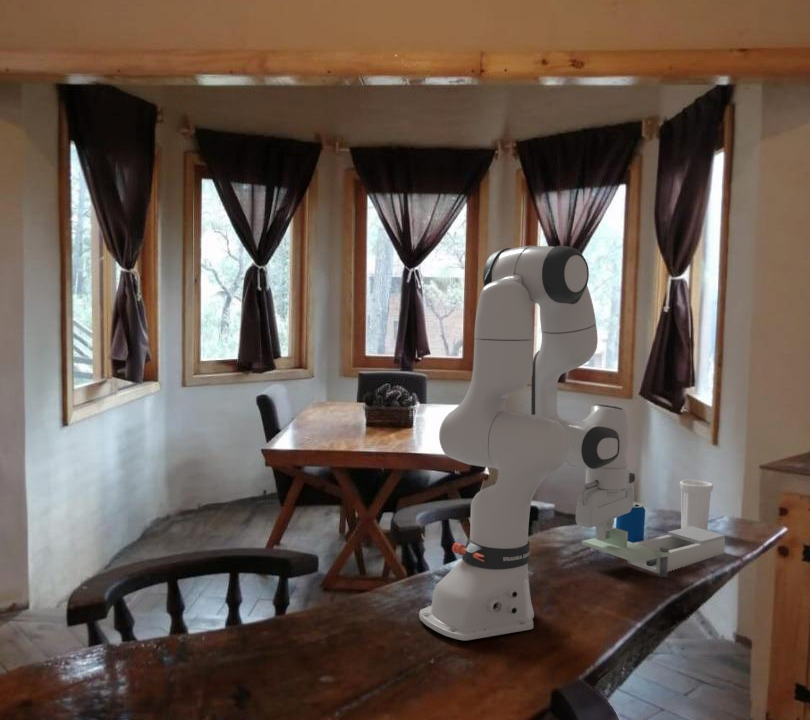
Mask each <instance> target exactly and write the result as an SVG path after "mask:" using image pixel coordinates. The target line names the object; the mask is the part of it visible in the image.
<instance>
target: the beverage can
mask: <svg viewBox="0 0 810 720" xmlns="http://www.w3.org/2000/svg"><path fill="white" fill-rule="evenodd" d="M615 519H616V520H615V528H617V529H621V530H624V531H627V532H628V540H627V541H629V542H632V543H635V542H640V541H644V540H645V539H644V538H645V522H646V508H645V507H644V503H641V502H638V501H635V500H633V507H632V509H631V512H629V513H627V514H624V515H622V516H619V517H617V518H615Z"/></svg>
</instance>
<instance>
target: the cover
mask: <svg viewBox="0 0 810 720" xmlns="http://www.w3.org/2000/svg"><path fill="white" fill-rule="evenodd" d="M627 540H628V532H627V531H624V530H621V529H617V528H616V527H615V526H613V527H612V530H611V537H610V538H609V539H607V540H604V541H601V540H598V539H597V530H596V529H595V535H594V538H588V539H585V540H581V545H582V546H586V547H587V548H588V547H589V548H592V549H595V550H597V551H600V552H603V553H606V554H609V555H612V556H615V557H618V558H621V559H623V560H627V561H628V560H629V561H632V562H634V561H637V560H641V559H645V558H649V557H653V556H659V557H666V556H670V552H669V548H666V547H660V549H657V550H654V549H651V548H648V547H645V546H641V545H638V544H635V543H632V542H629V541H627Z"/></svg>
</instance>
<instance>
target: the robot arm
mask: <svg viewBox="0 0 810 720" xmlns="http://www.w3.org/2000/svg"><path fill="white" fill-rule="evenodd" d="M482 273H483V274H482V282H483V287H482V290H480V293H479V297H478V302H477V307H476V314H475V320H474V341H473V342H474V345H473V346H474V347H473V362H472V363H473V365H472V374H471V375H472V376H471V380H470V384H469V386H468V390H467V391H466V394H465V396H464V397H463V400H462V401H461V402H460V403H459V404H458V406H456V407H455V408H454V409H453V410H452V411H450V412H449V413H447V415H446V416H445V418H444V419H443V420H442V422H441V425H440V428H439V432H438V434H439V437H438V438H439V444H440V447H441V450H442V451H443V453H444V455H445V456H446V457H448V458H450V459H452V460H455V461H457V462H459V463H460V462H461V463H463V464H466V465H470V466H475V467H482V468H491V469H496V470H497V479H496V482H495V484H492V485H490V486H487V487H485V488H482V489H480V491H478V492H477V493H476V494H475V496H473V498H472V500H471V502H470V520H469V521H470V523H469V524H470V527H469V528H470V529H469V531H470V533H469V537H468V538H467V541H466V543H465V545H464V544H461V543H460V542H454V543H453V545H452V546H451V551H452V552H453V553H454V554H457V555H459V556H461V560H460V561H459V562H457V564H456V565H455V566H453V568H452V569H451V570H450V571H449V572H448V573H447V574H445V576H444V577H442V579H440V581H439V582H437V584H436V585H435V587H434V590H433V595H432V598H431V599H432V600H431V605H430V606H427V607H424V608H422V609H420V610H419V613H418V616H419V620H420V621H421V622H422V623H423V624H424V625H426V627H429V628H430V629H432V630H433V631H435V632H436V633H438V634H441V635H443V636H445V637H449V638H451V639H455V640H460V641H471V640H477V639H483V638H490V637H494V636H501V635H506V634H511V633H517V632H524V631H529V630H532V629H534V620H533V619H534V617H535V612H534V608H533V605H532V603H533V602H532V599H531V589H530V578H529V572H528V571H529V570H528V569H529V567H528V566H529V565H528V563H529V562H530V561H531V559H530V558H531V557H530V556H531V542H530V541H529V523H530V512H531V506H532V502H533V498H534V496H535V493H536V492H537V489H538V488H539V487H540V485H541V483H542V482H543V481H544V480H545V479H547V477H549V476H550V475H552V474H553V473H555V472H557V471H558V470H559V469H560V468H561V467H562V465H564V466H570V467H573V468H582V469H585V484H584V486H583V487H582V489H581V491H580V492H579V493H578V496H577V501H576V510H575V522H576V524H577V526H580V527H584V528H588V529H591V528H593V527H594V528H595V531H596V530H597V539H598V540H601V541H604V540H607V539H609V538H610V537H611V530H612V527H614V525H615V519H616V518H617V517H619V516H622V515H624V514H627V513H629V512H631V509H632V507H633V501H635V500H634V496H635V485H634V483H635V482H636V481H637V473H636V472H635V471H634V472H633V471H631V470H628V461H627V451H628V449H629V422H628V415H627V412H626V410H624V409H623V408H621V407H620V406H614V405H607V404H594V405H591V407H590V411H589V415H588V416H586V417H585V418H584V419H582V420H581V421H574V420H565V419H563V418H561V417H560V416H559V414H558V381H559V379H560V377H561V376H562V375H563V374H565V373H568V372H571V371H574V370H575V369H578V368H580V367H581V366H584V365H585V364H587V363H588V362H589V361H590V360H591V359H592V358H593V356H594V354H595V353H596V350H597V349H598V343H599V342H598V328H597V320H596V314H595V309H594V305H593V300H592V295H591V292H590V290H589V287H588V282H589V276H590V273H589V265H588V262H587V260H586V258H585V257H584V255H583V254H582V253H581V252H580V251H579V250H578V248H575V247H571V246H566V245H556V246H550V245H549V246H547V245H544V246H543V245H540V246H538V245H525V246H519V247H513V248H511V247H509V248H508V247H507V248H503V249H500V250H497V251H496V252H494V253H492V254H491V255H489V257H488V258H487V260H486V262H485V265H484V268H483V272H482ZM536 304H537V305H538V306H539V320H540V329H541V330H540V331H541V343H540V344H541V345H540V348H539V350H538V351H537V352H536V353H535V355H534V319H533V311H532V310H533V308H534V306H535V305H536ZM530 381H531V397H530V398H531V399H530V400H531V402H530V403H531V406H530V407H531V408H530V409H531V411H530V412H531V414H529V413H521V412H520V413H519V412H511V411H506V404H507V403H506V402H507V400H508V398H509V396H510V395H513V394H514V393H515V394H516V393H517V392H519V391H521V390H523V389H524V388H525V387H527V385H529V383H530Z"/></svg>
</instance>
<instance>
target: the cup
mask: <svg viewBox="0 0 810 720" xmlns="http://www.w3.org/2000/svg"><path fill="white" fill-rule="evenodd" d="M679 487H680V499H681V500H680V509H681V510H680V511H681V512H680V517H681V518H680V522H681V523H680V529H681V528H686V527H690V526H693V527H697V528H700V529H704V530H708V527H709V517H710V506H711V505H710V504H711V496H712V495H711V494H712V492H713V489H714V485H713V483H711V482H709V481H705V480H699V479H683V480H681V481H679Z"/></svg>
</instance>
